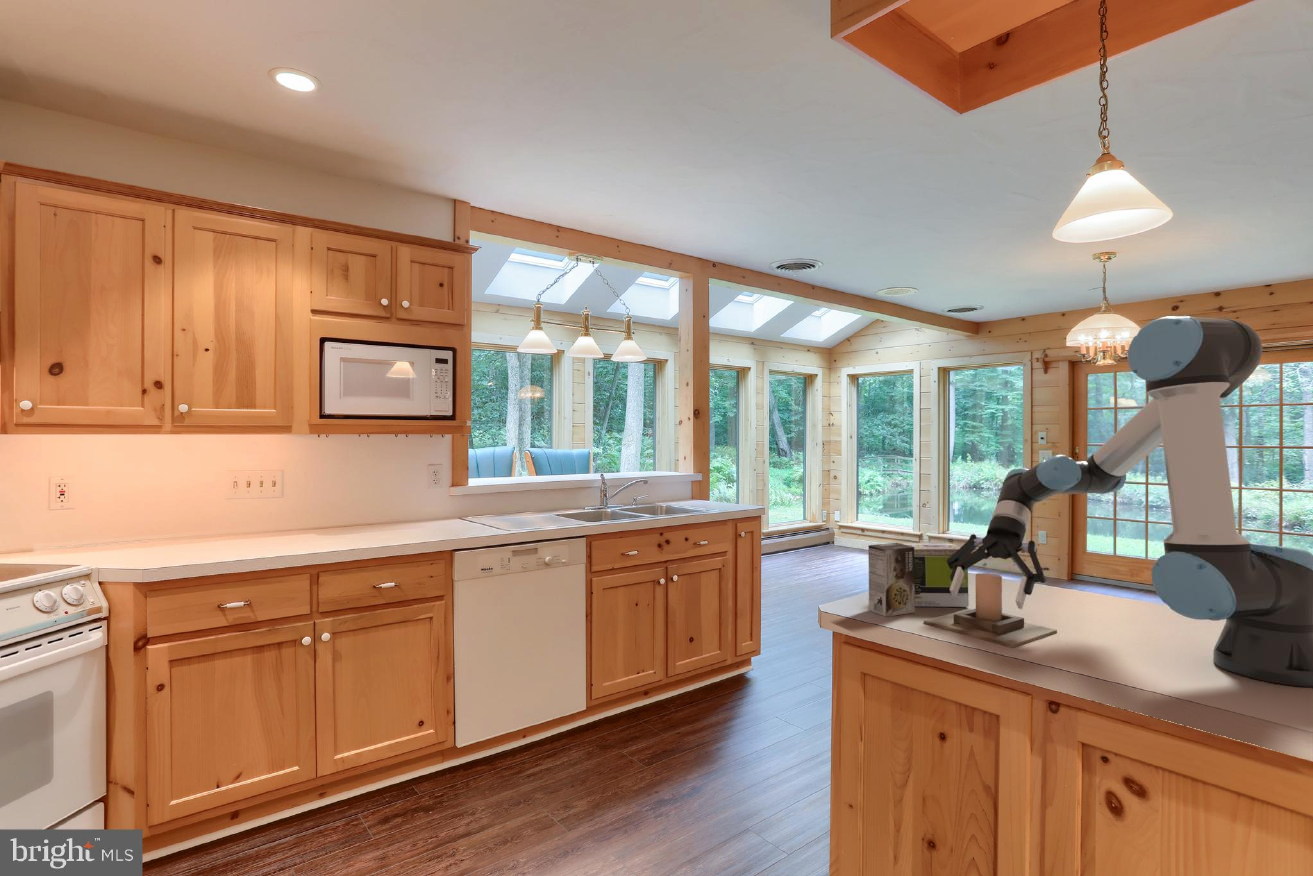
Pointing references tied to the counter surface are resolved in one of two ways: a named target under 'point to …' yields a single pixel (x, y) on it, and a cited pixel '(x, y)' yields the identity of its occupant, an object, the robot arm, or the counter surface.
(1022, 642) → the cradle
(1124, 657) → the counter surface
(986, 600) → the tall mauve pillar
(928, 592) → the tea box
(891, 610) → the coffee box
